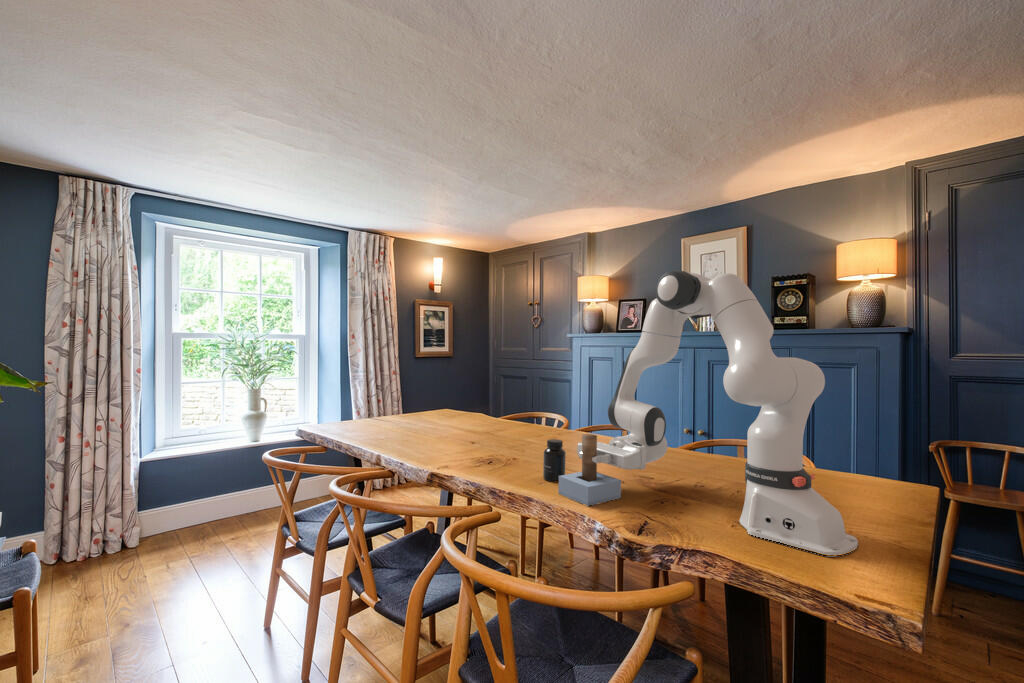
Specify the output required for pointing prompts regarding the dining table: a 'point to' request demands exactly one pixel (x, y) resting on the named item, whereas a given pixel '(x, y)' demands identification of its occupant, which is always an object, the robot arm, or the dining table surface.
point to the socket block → (589, 488)
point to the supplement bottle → (554, 460)
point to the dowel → (589, 457)
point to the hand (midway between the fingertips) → (586, 457)
